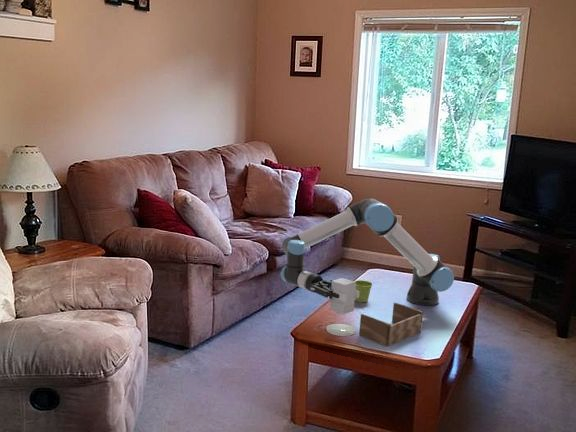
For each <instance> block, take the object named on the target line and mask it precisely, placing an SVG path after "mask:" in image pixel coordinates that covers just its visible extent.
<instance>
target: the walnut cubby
mask: <svg viewBox="0 0 576 432" xmlns="http://www.w3.org/2000/svg"><path fill="white" fill-rule="evenodd" d="M392 308H393V309H392V317H391V323H392V324H391V323H389V322H385V321H383V320H380V319H378V318H375V317H371V316H369V315H367V314H364V313H361V314H360V321H359V331H358V332H359V334H358V336H360V337H363V338H364V339H367V340H369V341H373V342H375V343H376V344H379V345H382V346H385V347H390V346H393V345H394V344H397V343H399V342H402V341H403V340H406V339H408V338H411V337H413V336H415V335H417V334H419V333H421V332H422V327H423V326H422V324H423V323H422V317H423V316H424V311H422V310H419V309H417V308H414V307H411V306H407V305H404V304H401V303H398V302H393V307H392ZM423 318H424V317H423Z"/></svg>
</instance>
